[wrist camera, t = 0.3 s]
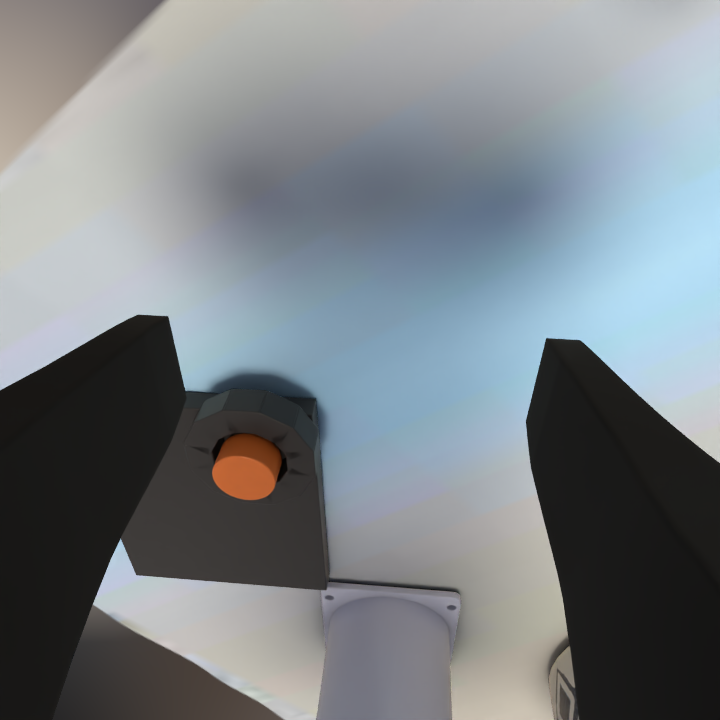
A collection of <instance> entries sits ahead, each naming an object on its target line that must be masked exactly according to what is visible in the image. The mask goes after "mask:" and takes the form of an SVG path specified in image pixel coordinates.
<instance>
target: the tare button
mask: <svg viewBox="0 0 720 720" xmlns="http://www.w3.org/2000/svg"><path fill="white" fill-rule="evenodd" d="M281 464H282V457H281V453H280V451H279V449H278V448H277V447H276V446H275V445H274V444H273V443H272V442H271V441H269V440H267V439H265V438H263V437H261V436H258V435H256V434H248V433H241V434H236V435H233V436H231V437H229V438H228V439H227V440H225V442H224V443H223V445H222V447H221V449H220V452H219V454H218V457H217V459H216V461H215V464H214V466H213V469H212V476H213V479H214V481H215V483H216V485H217V486H218V487H219V488H220V489H221V490H222V491H224V492H225V493H227V494H229V495H231V496H233V497H236V498H239V499H244V500H257V499H261V498H264V497H266V496H268V495H269V494H270V493H271V492H272V491H273V490H274V488H275V485H276V482H277V478H278V474H279V471H280V467H281Z"/></svg>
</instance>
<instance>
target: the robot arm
mask: <svg viewBox="0 0 720 720" xmlns="http://www.w3.org/2000/svg"><path fill="white" fill-rule="evenodd" d="M186 399H187V397H186V393H185V388H184V384H183V380H182V375H181V371H180V366H179V362H178V357H177V353H176V349H175V344H174V340H173V335H172V331H171V327H170V322H169V318H168V316H152V315H136V316H134V317H132V318H130V319H128V320H126V321H124V322H122V323H120V324H118V325H116V326H114V327H113V328H111V329H109V330H107V331H106V332H104V333H102V334H100V335H99V336H97V337H95V338H93V339H92V340H90V341H88V342H87V343H85V344H83V345H81V346H80V347H78V348H76V349H75V350H73V351H71V352H69V353H68V354H66V355H64V356H62V357H61V358H59V359H57V360H55V361H54V362H52V363H50V364H49V365H47V366H45V367H43V368H41V369H40V370H38V371H36V372H34V373H32V374H30V375H28V376H26V377H25V378H23V379H21V380H19V381H17V382H15V383H13V384H11V385H9V386H8V387H6V388H4V389H2V390H0V720H52V719H53V716H54V713H55V709H56V707H57V704H58V701H59V698H60V695H61V691H62V689H63V686H64V683H65V679H66V677H67V674H68V671H69V668H70V665H71V662H72V659H73V656H74V653H75V651H76V648H77V645H78V642H79V640H80V637H81V634H82V632H83V629H84V626H85V624H86V621H87V618H88V615H89V612H90V610H91V607H92V605H93V602H94V600H95V597H96V595H97V592H98V590H99V587H100V585H101V582H102V580H103V577H104V575H105V572H106V570H107V567H108V565H109V562H110V560H111V557H112V555H113V553H114V551H115V549H116V547H117V545H118V543H119V541H120V538H121V536H122V534H123V533H124V531H125V529H126V527H127V525H128V523H129V521H130V519H131V518H132V516H133V514H134V512H135V510H136V508H137V506H138V504H139V502H140V501H141V499H142V497H143V495H144V493H145V491H146V489H147V487H148V486H149V484H150V482H151V480H152V478H153V476H154V474H155V472H156V470H157V468H158V467H159V465H160V463H161V461H162V459H163V457H164V455H165V453H166V451H167V449H168V447H169V445H170V443H171V441H172V439H173V436H174V433H175V431H176V428H177V425H178V422H179V420H180V417H181V414H182V411H183V408H184V405H185V402H186ZM526 426H527V437H528V447H529V455H530V463H531V469H532V474H533V478H534V482H535V486H536V490H537V494H538V498H539V502H540V506H541V510H542V514H543V518H544V522H545V526H546V530H547V534H548V538H549V542H550V546H551V549H552V553H553V557H554V561H555V565H556V569H557V573H558V578H559V582H560V587H561V592H562V597H563V603H564V610H565V617H566V624H567V631H568V637H569V644H570V651H571V659H572V667H573V675H574V683H575V691H576V699H577V707H578V715H579V720H720V463H719V462H717V461H716V460H715V459H714V458H712V457H711V456H710V455H708V454H707V453H706V452H704V451H703V450H702V449H701V448H699V447H698V446H697V445H696V444H694V443H693V442H692V441H691V440H690V439H688V438H687V437H686V436H685V435H683V434H682V433H681V432H680V431H679V430H677V429H676V428H675V427H674V426H673V425H671V424H670V423H669V422H668V421H667V420H666V419H664V418H663V417H662V416H661V415H660V414H659V413H658V412H656V411H655V410H654V409H653V408H652V407H651V406H650V405H649V404H648V403H646V402H645V401H644V400H643V399H642V398H641V397H640V396H639V395H638V394H637V393H636V392H635V391H633V390H632V389H631V388H630V387H629V386H628V385H627V384H626V383H625V382H624V381H623V380H622V379H621V378H620V377H619V376H618V375H617V374H616V373H615V372H614V371H612V370H611V369H610V368H609V367H608V366H607V365H606V364H605V363H604V362H603V361H602V360H601V359H600V358H599V357H598V356H597V355H596V354H595V353H594V352H593V351H592V350H591V349H589V348H588V347H587V346H586V345H585V344H584V343H583V342H582V341H580V340H566V339H548V338H546V342H545V346H544V350H543V354H542V358H541V362H540V366H539V370H538V374H537V378H536V382H535V386H534V391H533V395H532V399H531V403H530V407H529V411H528V415H527V419H526ZM320 592H321V603H322V613H323V624H324V635H325V645H326V655H325V662H324V669H323V676H322V683H321V690H320V697H319V704H318V711H317V718H316V720H452V703H451V674H450V666H451V660H452V654H453V648H454V642H455V636H456V631H457V625H458V619H459V613H460V607H461V596H460V595H459V594H458V593H456V592H449V591H437V590H424V589H411V588H399V587H386V586H374V585H361V584H349V583H336V582H328V586H327V590H321V591H320Z"/></svg>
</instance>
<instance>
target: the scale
mask: <svg viewBox="0 0 720 720" xmlns="http://www.w3.org/2000/svg"><path fill="white" fill-rule="evenodd" d="M185 393H186V397H187V399H186V402H185V405H184V408H183V411H182V414H181V417H180V420H179V422H178V425H177V428H176V431H175V433H174V436H173V439H172V441H171V443H170V445H169V447H168V449H167V451H166V453H165V455H164V457H163V459H162V461H161V463H160V465H159V467H158V468H157V470H156V472H155V474H154V476H153V478H152V480H151V482H150V484H149V486H148V487H147V489H146V491H145V493H144V495H143V497H142V499H141V501H140V502H139V504H138V506H137V508H136V510H135V512H134V514H133V516H132V518H131V519H130V521H129V523H128V525H127V527H126V529H125V531H124V533H123V534H122V536H121V540H122V542H123V545H124V547H125V549H126V552H127V554H128V556H129V559H130V561H131V563H132V566H133V568H134V571H135V573H136V575H142V576H154V577H166V578H179V579H191V580H203V581H216V582H228V583H241V584H253V585H265V586H278V587H290V588H302V589H315V590H327V586H328V579H329V562H328V549H327V536H326V522H325V509H324V496H323V483H322V470H321V457H320V455H321V450H320V437H319V430H318V417H317V404H316V399H311V398H292V397H281V396H278V395H276V394H274V393H272V392H270V391H266V390H250V389H230V390H228V391H225V392H223V393H221V394H215V393H196V392H185ZM241 433H248V434H256V435H258V436H261V437H263V438H265V439H267V440H269V441H271V442H272V443H273V444H274V445H275V446H276V447H277V448H278V449H279V451H280V453H281V457H282V464H281V467H280V471H279V474H278V478H277V482H276V485H275V488H274V490H273V491H272V492H271V493H270V494H269V495H268V496H266V497H264V498H261V499H257V500H244V499H239V498H236V497H233V496H231V495H229V494H227V493H225V492H224V491H222V490H221V489H220V488H219V487H218V486H217V485H216V483H215V481H214V479H213V476H212V469H213V466H214V464H215V461H216V459H217V457H218V454H219V452H220V449H221V447H222V445H223V443H224V442H225V440H227V439H228V438H229V437H231V436H233V435H236V434H241Z"/></svg>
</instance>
